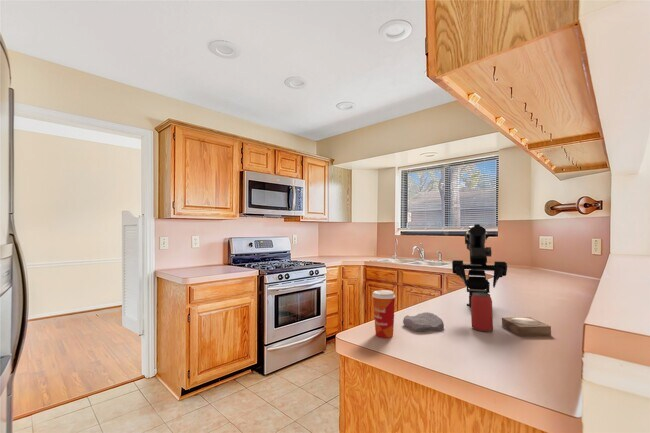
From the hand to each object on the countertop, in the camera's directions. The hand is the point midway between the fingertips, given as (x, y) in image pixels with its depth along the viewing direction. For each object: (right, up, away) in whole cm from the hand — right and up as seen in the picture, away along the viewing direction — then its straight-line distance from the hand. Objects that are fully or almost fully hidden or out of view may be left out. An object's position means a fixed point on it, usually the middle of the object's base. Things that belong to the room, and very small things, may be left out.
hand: (479, 286), depth 114 cm
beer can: (-3, -13, -7) cm, 15 cm away
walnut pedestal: (+10, -13, -10) cm, 19 cm away
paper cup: (-37, -14, -12) cm, 42 cm away
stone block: (-22, -14, -5) cm, 26 cm away
